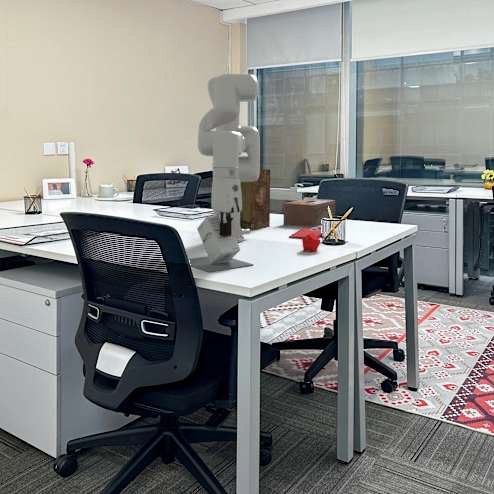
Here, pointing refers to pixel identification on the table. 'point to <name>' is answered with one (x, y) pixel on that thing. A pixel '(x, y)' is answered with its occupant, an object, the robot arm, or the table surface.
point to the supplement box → (217, 241)
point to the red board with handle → (307, 233)
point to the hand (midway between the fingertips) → (225, 235)
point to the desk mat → (217, 264)
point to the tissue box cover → (307, 212)
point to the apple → (310, 242)
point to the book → (256, 202)
